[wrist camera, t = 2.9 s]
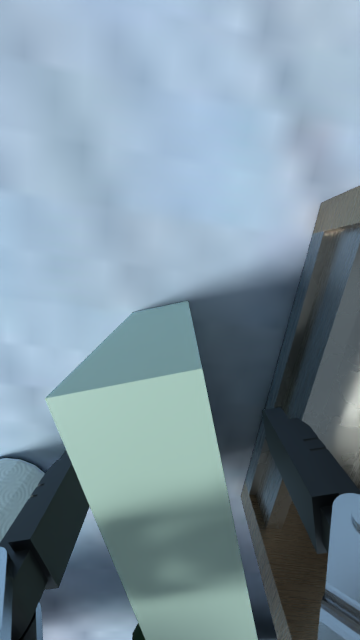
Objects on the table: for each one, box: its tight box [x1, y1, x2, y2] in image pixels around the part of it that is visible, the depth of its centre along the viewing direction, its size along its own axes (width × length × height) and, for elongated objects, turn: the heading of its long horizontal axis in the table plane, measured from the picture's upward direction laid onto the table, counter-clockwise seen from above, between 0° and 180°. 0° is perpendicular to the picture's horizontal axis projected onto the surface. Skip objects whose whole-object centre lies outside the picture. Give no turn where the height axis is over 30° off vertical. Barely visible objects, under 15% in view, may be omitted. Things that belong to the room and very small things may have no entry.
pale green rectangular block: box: [45, 301, 258, 640], centre depth 10 cm, size 12×4×9 cm, turn 12°
